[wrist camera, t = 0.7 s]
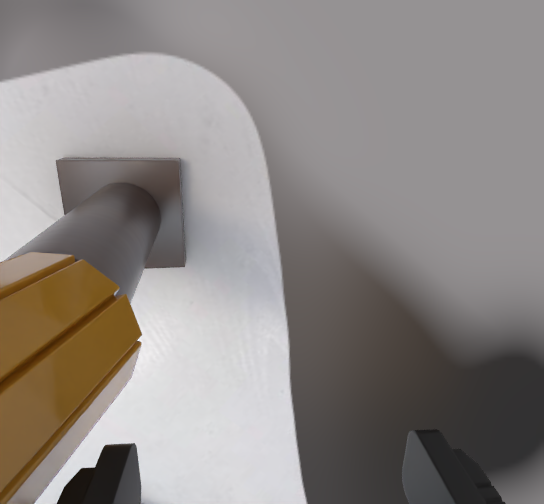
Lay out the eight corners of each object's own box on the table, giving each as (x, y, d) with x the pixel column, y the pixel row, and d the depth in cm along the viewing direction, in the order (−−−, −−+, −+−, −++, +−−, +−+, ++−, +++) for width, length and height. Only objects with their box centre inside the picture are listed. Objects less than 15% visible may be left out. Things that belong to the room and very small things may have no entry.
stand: (62, 157, 27) (-349, 294, 7) (179, 158, 29) (117, 275, 8) (79, 264, 30) (-184, 586, 10) (185, 260, 31) (150, 538, 11)
